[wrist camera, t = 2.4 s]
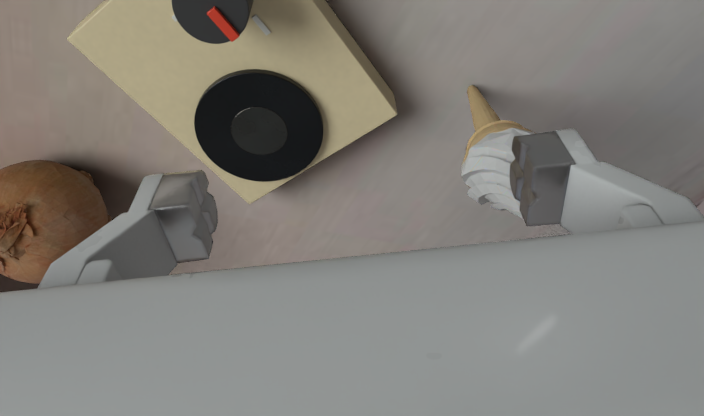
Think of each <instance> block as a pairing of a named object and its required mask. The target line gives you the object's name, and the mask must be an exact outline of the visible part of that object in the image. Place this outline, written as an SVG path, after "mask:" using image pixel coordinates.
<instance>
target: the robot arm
mask: <svg viewBox="0 0 704 416" xmlns="http://www.w3.org/2000/svg"><path fill="white" fill-rule="evenodd" d="M512 152H513V155H514V157H515V159H514V161H513V162H512V163H511V164H510V186H511V190H512V193H513V196H514V198H515V199H516V200H518V201H519V202H520V209H519V210H520V212H521V214H522V217H523V219H524V221H525V223H526V226H537V225H550V224H560V225H561V226H562V227H563V228H565V229H566V230H568V231H569V232H570V233H572V234H568V235H558V236H548V237H538V238H528V239H519V240H509V241H499V242H489V243H479V244H470V245H460V246H450V247H440V248H430V249H421V250H411V251H401V252H391V253H381V254H372V255H362V256H352V257H342V258H332V259H322V260H313V261H303V262H293V263H283V264H273V265H264V266H254V267H244V268H234V269H224V270H214V271H205V272H195V273H185V274H175V275H168V274H169V273H170V272H171V271H172V270H173V269H174V268H175V267H176V266H177V263H181V262H189V261H196V260H204V259H209V256H210V252H211V248H212V244H213V240H212V237H211V234H212V233H213V232H214V231H215V230H216V227H217V223H218V219H217V207H216V203H215V200H214V197H213V196H212V195H211V194H209V193H208V192H207V188H208V184H209V182H208V180H207V177H206V175H205V173H204V172H203V171H202V170H197V171H186V172H175V173H166V174H164V173H163V174H154V175H147V176H145V177H144V178H143V180H142V182H141V184H140V187H139V189H138V191H137V193H136V195H135V198H134V200H133V202H132V204H131V206H130V209H129V211H128V213H122V214H120V215H119V216H118V217H116V218H115V219H113V220H112V221H110V222H109V223H108V224H106V225H105V226H103V227H102V228H101V229H99V230H98V231H96V232H95V233H94V234H92V235H91V236H89V237H88V238H87V239H85V240H84V241H82V242H81V243H79V244H78V245H77V246H75V247H74V248H72V249H71V250H70V251H68V252H67V253H65V254H64V255H63V256H61V257H60V258H58V259H57V260H56V261H54V262H53V263H51V265H50V266H49V268H48V270H47V272H46V273H45V275H44V277H43V279H42V281H41V282H40V284H39V286H38V288H37V289H28V290H18V291H8V292H0V416H704V216H703V215H702V214H701V212H700V211H699V210H698V209H697V207H696V206H695V205H694V204H693V203H692V201H691V200H690V199H689V198H687V197H685V196H683V195H680V194H678V193H676V192H673V191H671V190H669V189H667V188H664V187H662V186H660V185H657V184H655V183H653V182H650V181H648V180H646V179H643V178H641V177H639V176H637V175H634V174H632V173H630V172H627V171H625V170H623V169H620V168H618V167H616V166H613V165H611V164H609V163H607V162H598V161H597V159H596V158H595V156H594V155H593V153H592V152H591V151H590V149H589V148H588V146H587V145H586V143H585V142H584V141H583V139H582V138H581V136H580V135H579V133H578V132H577V131H576V130H575V129H573V128H571V129H564V130H557V131H552V132H544V133H536V134H529V135H521V136H514V138H513V141H512Z"/></svg>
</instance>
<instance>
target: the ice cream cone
mask: <svg viewBox="0 0 704 416" xmlns="http://www.w3.org/2000/svg"><path fill="white" fill-rule="evenodd" d="M467 94H468V98H469V102H470V108H471V113H472V117H473V123H474V128H475V133H474V134H473V136H472V137H471V138H470V140H469V141H468V144H467V147H466V154H465V157H464V160H463V163H462V171H461V177H462V178H463V180H464V182H465V183H466V184H467V186H468V187H470V188H471V189H469V191H468V193H467V195H468V196H470V197H471V198H472V199H474V200H475V201H477V202H478V203H480V204H481V205H482V204H485V203H487V202H489V201H491V202H493V204H492V205H490V206H491V208H494V209H498V210H508V211H510V212H511V213H512V214H514V215H517V216H519V217H521V218H522V219H523V217H522V214H521V212H520V210H519V209H520V202H519V201H518V200H516V199H515V198H514V196H513V193H512V190H511V186H510V164H511V163H512V162H513V161H514V159H515V157H514V155H513V152H512V141H513V138H514V136H521V135H529V134H536V133H535V132H533V131H531V130H528V129H526V128H523V126H522V125H520V124H518V123H516V122H513V121H506V120H500V119H499V117H498V116H497V114H496V113H495V112H494V110H493V109H492V108H491V106H490V105H489V104H488V102H487V101H486V100H485V99H484V97H483V96H482V95H481V93H480V92H479V90H478V89H477V88H476V87H475V86H473V85H471V86H469V87H468V90H467Z"/></svg>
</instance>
